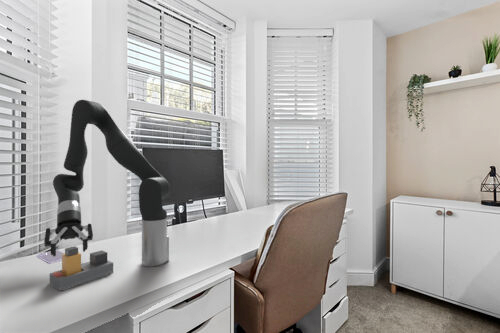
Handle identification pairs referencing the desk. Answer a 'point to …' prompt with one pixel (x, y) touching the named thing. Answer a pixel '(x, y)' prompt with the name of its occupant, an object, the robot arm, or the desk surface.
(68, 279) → the power strip
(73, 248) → the adapter plug
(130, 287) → the desk surface
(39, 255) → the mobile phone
